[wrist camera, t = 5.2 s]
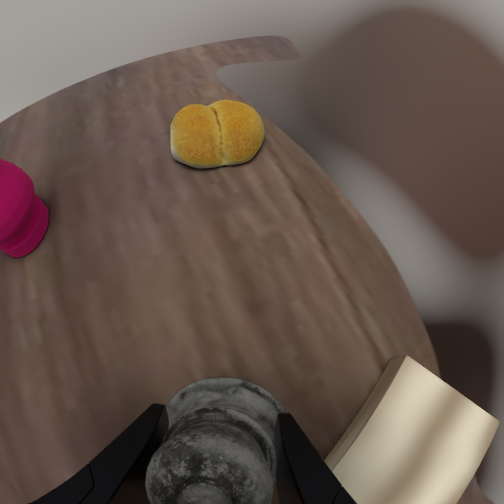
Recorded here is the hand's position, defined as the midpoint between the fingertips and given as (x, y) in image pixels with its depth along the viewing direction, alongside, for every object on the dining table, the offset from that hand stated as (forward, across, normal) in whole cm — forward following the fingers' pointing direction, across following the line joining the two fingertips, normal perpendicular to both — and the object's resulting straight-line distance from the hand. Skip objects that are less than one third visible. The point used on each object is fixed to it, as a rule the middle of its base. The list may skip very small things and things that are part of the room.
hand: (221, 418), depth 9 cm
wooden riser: (+4, -13, +11) cm, 18 cm away
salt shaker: (+4, 0, +6) cm, 7 cm away
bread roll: (+24, +3, -8) cm, 25 cm away
